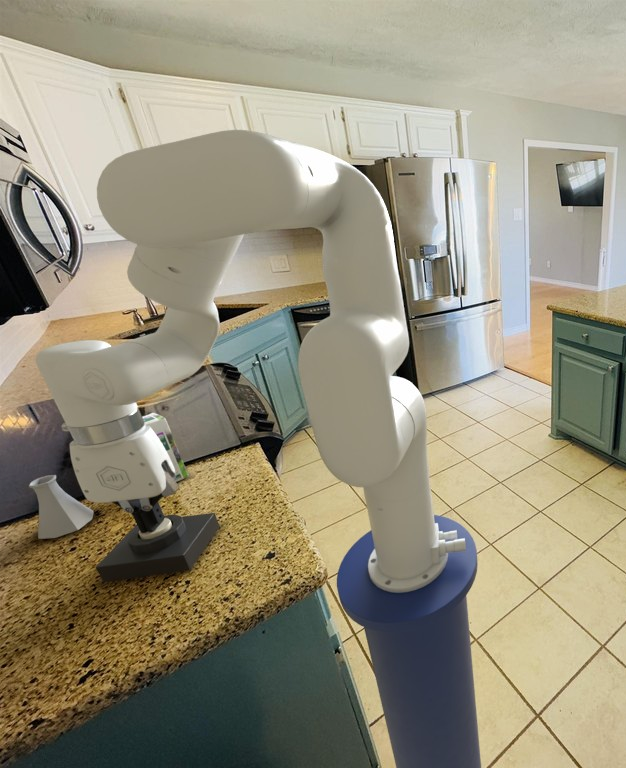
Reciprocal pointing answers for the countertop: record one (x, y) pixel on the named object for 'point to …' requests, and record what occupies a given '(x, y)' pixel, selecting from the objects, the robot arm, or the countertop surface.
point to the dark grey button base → (159, 549)
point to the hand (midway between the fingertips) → (153, 526)
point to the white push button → (157, 530)
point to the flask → (58, 509)
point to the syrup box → (167, 442)
